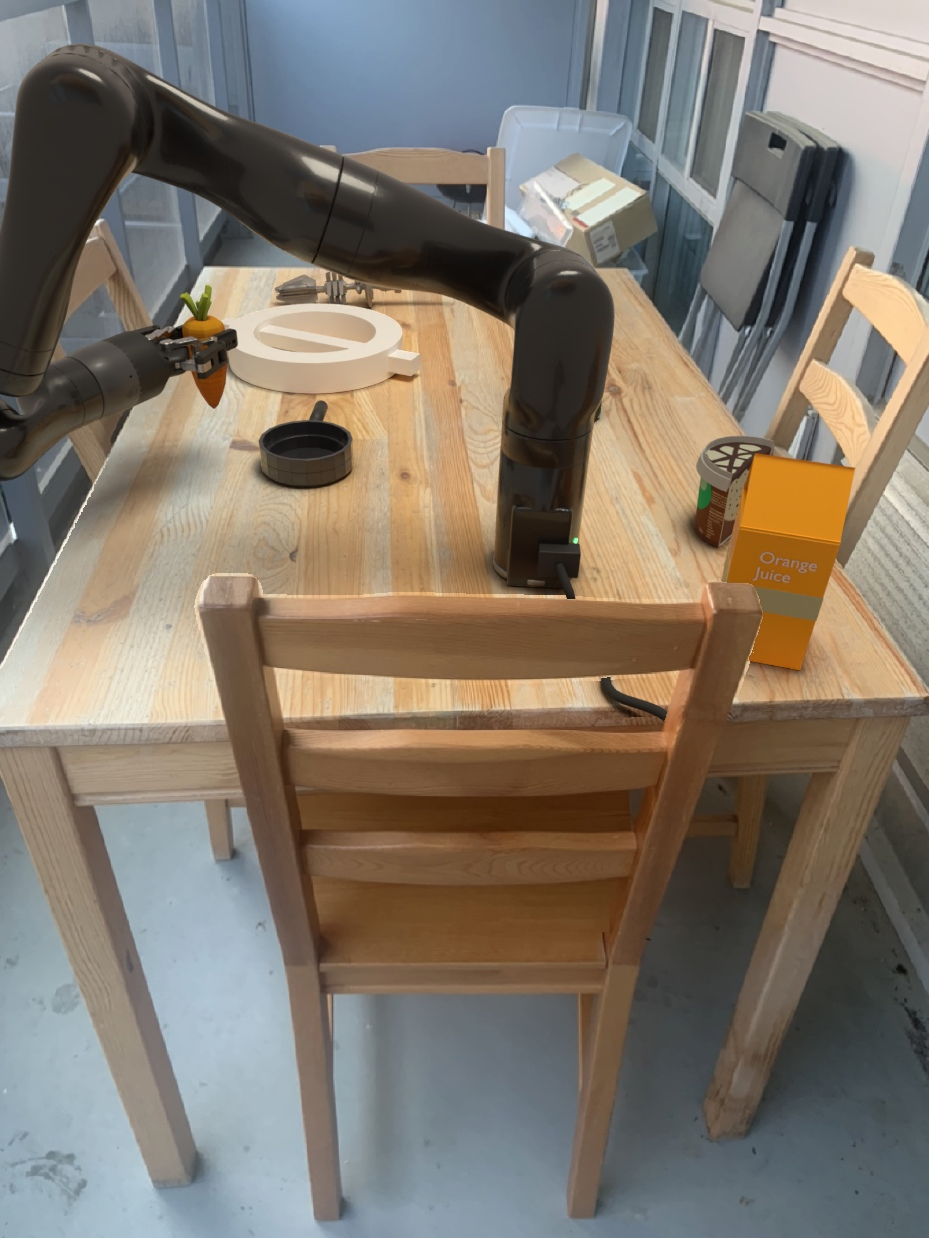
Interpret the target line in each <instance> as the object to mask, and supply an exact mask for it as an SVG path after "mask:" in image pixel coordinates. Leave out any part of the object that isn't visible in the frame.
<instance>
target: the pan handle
mask: <svg viewBox="0 0 929 1238" xmlns="http://www.w3.org/2000/svg"><path fill="white" fill-rule="evenodd" d="M328 408H329V405H328V403H327V402H326V401H325V400H322V399H321V400H317V401H316V402H315V404H314V406H313V409H312V411H311V413H310V416H309V417H308V420H317V421H325V420H324V419H325V417H326V415H327V412H328Z"/></svg>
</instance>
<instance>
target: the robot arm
mask: <svg viewBox="0 0 929 1238" xmlns="http://www.w3.org/2000/svg"><path fill="white" fill-rule="evenodd" d="M14 110H15V111H14V119H13V132H12V140H11V141H12V142H11V152H10V162H9V171H8V180H7V188H6V193H5V201H4V205H3V211H2V216H1V221H0V395H2V396H5V397H9V398H10V397H11V398H15V399H16V404H17V406H18V409H19V411H20V412H21V414H20V413H19V412H18V411H17V410H16V409H15V408H13V406H11V405H10V404H9V403H8V402H6V401H5V400H4V399H3V398H2V397H1V396H0V482H8V481H9V482H10V481H13V480H16V479H18V478H19V477H22V475H24V474H25V473H27V472H28V471H29V470H30V469H31V468H32V467H33V466H34V465H35V464H36V463H37V462H38V461H39V460H40V459H41V458H42V457H43V456H44V455H45V454H47V452H49V451H50V450H51V449H52V448H53V447H55V446H56V444H59V442H60V441H62V440H63V439H64V438H65V437H67V436H68V435H69V434H70V433H73V432H75V431H77V430H79V429H82V428H83V427H86V426H88V425H91V424H93V423H95V422H97V421H100V420H103V419H107V418H111V417H113V416H114V417H115V416H116V415H119V414H121V413H123V412H125V411H127V410H130V409H132V408H134V407H136V406H139V405H141V404H143V403H145V402H148V401H149V400H152V399H154V398H156V397H158V396H159V395H160V394H162V393H163V391H164V390H165V388H166V385H167V383H168V381H169V379H170V378H173V377H179V376H181V375H183V374H185V373H187V372H191V371H195V372H197V378H198V379H206V378H208V377H209V376H211V375H212V374H214V373H215V372H216V371H218V370H219V369H220V368H222V367H223V366H225V365H226V364H227V365H228V364H229V358H228V351H229V350H231V349H234V348H236V347H237V346H238V339H237V332H236V330H235V329H230V328H229V329H227V330H224V331H222V332H220V333H217V334H215V335H212V336H210V337H206V338H202V339H197V338H195V337H193V336H191V337H186V338H183V333H182V327H183V324H180V325H177V326H171V325H168V326H165V327H164V328H162V329H161V325H159V324H152V325H149V326H146V327H141V328H136V329H134V330H133V329H132V330H127V331H126V330H125V331H122V332H120V333H117V334H114V335H112V336H109V337H107V338H104V339H102V340H99V341H96V342H94V343H90V344H87V345H85V346H83V347H80V348H78V349H76V350H74V351H72V352H71V353H69V354H68V355H66V356H64V357H60V358H57V359H56V360H53V361H52V359H53V356H54V354H55V351H56V348H57V346H58V342H59V340H60V337H61V335H62V331H63V328H64V324H65V321H66V318H67V313H68V309H69V304H70V300H71V296H72V290H73V286H74V281H75V276H76V272H77V269H78V267H79V266H78V265H79V262H80V260H81V256H82V254H83V251H84V249H85V247H86V244H87V242H88V239H89V237H90V235H91V233H92V231H93V228H94V227H95V226H96V224H97V222H98V220H99V219H100V216H101V215H102V213H103V212H104V210H105V209H106V207H107V205H108V203H109V202H110V200H111V199H112V197H113V196H114V194H115V192H116V191H117V189H118V187H119V185H120V184H121V182H122V181H123V180H124V179H126V178H127V177H128V176H130V175H131V174H135V175H139V176H142V177H145V178H149V179H152V180H155V181H158V182H161V183H164V184H166V185H169V186H173V187H176V188H179V189H181V190H184V191H187V192H188V193H192V194H194V195H195V196H198V197H200V198H202V199H204V200H205V201H208V202H210V203H211V204H213V205H215V206H216V207H218V208H220V210H222V211H224V212H226V214H228V215H230V216H231V217H233V218H234V219H235V220H236V221H238V222H239V223H241V224H242V225H244V226H245V227H246V228H248V229H249V230H250V231H252V232H253V233H255V234H256V235H258V236H259V237H261V238H262V239H263V240H265V241H266V242H267V243H269V244H271V245H272V246H274V247H275V248H277V249H278V250H280V251H282V252H284V253H285V254H287V255H289V256H290V257H294V258H295V259H298V260H299V261H301V262H304V263H306V264H308V265H309V264H311V265H312V266H315V267H317V268H319V269H323V270H325V271H327V272H330V273H331V274H332V273H335V274H337V276H338V275H340V276H343V278H345V279H349V280H351V281H354V282H355V281H358V282H361V283H365V284H369V285H373V286H379V287H384V288H391V289H400V290H401V291H411V292H421V293H429V294H435V295H441V296H444V297H448V298H450V299H453V300H456V301H459V302H461V303H464V304H466V305H468V306H471V307H473V308H475V309H477V310H479V311H481V312H483V313H486V314H487V315H489V316H491V317H493V318H495V319H497V320H498V321H501V323H504V324H506V325H507V326H509V327H510V328H512V330H513V349H512V350H513V351H512V362H511V374H510V385H509V387H508V388H507V389H506V391H505V393H504V395H503V400H502V415H501V418H502V419H501V433H500V434H501V435H500V447H499V463H498V480H497V494H496V495H497V496H496V509H495V511H496V513H495V526H494V527H495V528H494V529H495V531H494V545H493V547H494V549H493V552H492V566H493V568H494V570H495V571H496V573H497V574H499V576H500V577H502V578H504V579H505V580H506V584H507V586H511V587H532V588H551V589H552V588H555V589H562V590H563V592H564V594H565V599H566V598H567V599H576V594H575V591H574V588H573V586H572V583H571V581H570V579H578V578H579V572H580V565H581V564H580V563H581V557H582V552H581V551H582V550H581V544H580V536H581V528H582V519H583V511H584V503H585V495H586V486H587V478H588V471H589V463H590V455H591V449H592V441H593V440H592V439H593V432H594V424H595V419H596V418H595V413H596V411H597V409H598V407H599V405H600V403H601V401H603V398H604V394H605V389H606V388H605V387H606V383H607V382H606V381H607V376H608V371H609V363H610V360H611V359H610V358H611V353H612V352H611V351H612V347H613V346H612V345H613V340H614V329H615V313H616V312H615V303H614V297H613V295H612V292H611V290H610V287H609V286H608V284H607V283H606V281H605V280H604V279H603V278H602V277H601V276H600V274H599V273H598V272H597V271H596V269H595V268H594V266H592V265H591V263H590V262H589V261H588V260H586V258H584V256H582V254H579V253H577V252H575V251H574V250H573V249H571V248H568V247H566V246H565V247H564V246H561V245H558V244H554V243H550V242H548V241H543V240H540V239H536V238H533V237H529V236H525V235H523V234H519V233H516V232H513V231H510V230H506V229H503V228H500V227H496V226H493V225H491V224H488V223H486V222H482V221H480V220H478V219H475V218H473V217H470V216H469V215H467V214H465V213H463V212H462V211H459V210H457V209H456V208H454V207H453V206H450V205H448V203H447V204H446V203H445V202H443V201H441V200H439V199H437V198H436V197H433V196H431V195H429V194H428V193H426V192H424V191H422V190H420V189H418V188H417V187H414V186H412V185H410V184H408V183H405V182H404V181H401V180H399V179H396V178H394V177H393V176H391V175H389V174H387V173H385V172H383V171H380V170H378V169H376V168H373V167H371V166H369V165H366V164H364V163H362V162H361V161H360V162H359V161H357V160H355V159H353V158H350V157H348V156H346V155H342V154H341V153H338V152H337V151H333V150H330V149H327V148H325V147H322V146H320V145H317V144H314V143H311V142H309V141H307V140H305V139H302V138H299V137H297V136H294V135H292V134H289V133H286V132H284V131H281V130H280V129H276V128H274V127H271V126H268V125H265V124H262V123H259V122H256V121H254V120H253V121H252V120H250V119H247V118H245V117H243V116H242V117H241V116H239V115H236V114H234V113H231V112H228V111H226V110H225V109H222V108H220V107H217V106H215V105H213V104H212V103H209V102H207V101H205V100H203V99H201V98H199V97H198V96H195V95H194V94H193V93H190V92H188V91H186V90H184V89H182V88H181V87H178V86H177V85H175V84H173V83H171V82H170V81H168V80H166V79H164V78H162V77H161V76H159V75H157V74H155V73H153V72H152V71H150V70H148V69H146V68H145V67H144V66H143V67H142V66H141V65H139V64H138V63H135V62H134V61H132V60H130V59H128V58H127V57H125V56H123V55H121V54H119V53H117V52H115V51H112V50H111V49H108V48H105V47H103V46H99V45H95V44H89V43H70V44H66V45H63V46H60V47H59V48H56V49H54V50H53V51H52V52H50V53H49V54H47V55H46V56H45V57H43V59H42V60H40V61H39V62H37V63H36V64H35V65H34V66H33V67H31V69H29V71H28V72H27V74H26V75H25V76H24V78H22V80H21V83H20V84H19V88H18V92H17V94H16V101H15V109H14ZM188 345H190V347H191V353H192V359H190V354H189V349H188V347H187V346H188ZM206 345H208V347H207V348H206V349H204V350H203V351H201V348H202V346H206ZM594 418H595V419H594ZM567 599H566V600H567ZM576 600H577V599H576ZM611 679H612V676H611V677H607V678H601V677H600V684H601V687H602V689H603V691H604V693H605V694H606V695H607V696H608V697H609V698H610V699H611V700H614V701H615V702H617V703H618V704H621V705H624V706H627V707H629V708H633V709H636V710H639V711H642V712H645V713H648V714H650V715H653V716H654V717H656V718H658V719H659V720H661V721H662V722H664V720H665V718H666V714H667V711H668V710H666V709H665V708H663V707H661V706H659V705H658V704H655V703H653V702H650V701H649V700H648V701H647V700H644V699H641V698H638V697H635V696H632V695H628V694H626V693H624V692H621V691H619V689H616V687H614V685H613V683H612V680H611ZM644 939H645V940H646V941H649V942H651V941H652V939H651V938H649V937H648V938H647V939H646V938H645V937H644Z"/></svg>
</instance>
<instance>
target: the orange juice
mask: <svg viewBox="0 0 929 1238" xmlns="http://www.w3.org/2000/svg"><path fill="white" fill-rule="evenodd" d="M855 472H856V467H853V466H847V465H840V464H833V463H826V462H819V461H811V460H805V459H799V458H798V459H797V458H791V457H785V456H778V455H773V456H771V455H764V454H757V453H755V455H754V458H753V461H752V464H751V467H750V470H749V473H748V476H747V479H746V482H745V485H744V488H743V490H742V494H741V498H740V502H739V506H738V511H737V515H736V519H735V523H734V527H733V532H732V536H731V538H730V539H729V543H728V547H727V551H726V556H725V560H724V565H723V570H722V574H721V578H720V582H721V581H722V582H727V583H749V584H752V585H753V586H754V588H755V589H756V591H757V594H758V596H759V599H760V605H761V607H762V610H763V619H762V622H761V624H760V629H759V632H758V635H757V637H756V639H755V643H754V647H753V650H752V653H751V655H750V656H749V660H747V661H748V662H754V663H757V664H758V663H759V664H764V665H769V666H774V667H781V668H785V669H791V670H796V671H801V668H802V665H803V662H804V659H805V656H806V653H807V650H808V647H809V644H810V640H811V637H812V634H813V631H814V628H815V625H816V622H817V620H818V617H819V614H820V610H821V607H822V604H823V602H824V598H825V597H824V596H825V594H826V590H827V588H828V584H829V581H830V578H831V575H832V572H833V568H834V566H835V563H836V559H837V556H838V553H839V550H840V547H841V544H842V536H843V531H844V527H845V522H846V516H847V512H848V506H849V500H850V496H851V492H852V485H853V481H854V476H855ZM753 652H754V653H753Z"/></svg>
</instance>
